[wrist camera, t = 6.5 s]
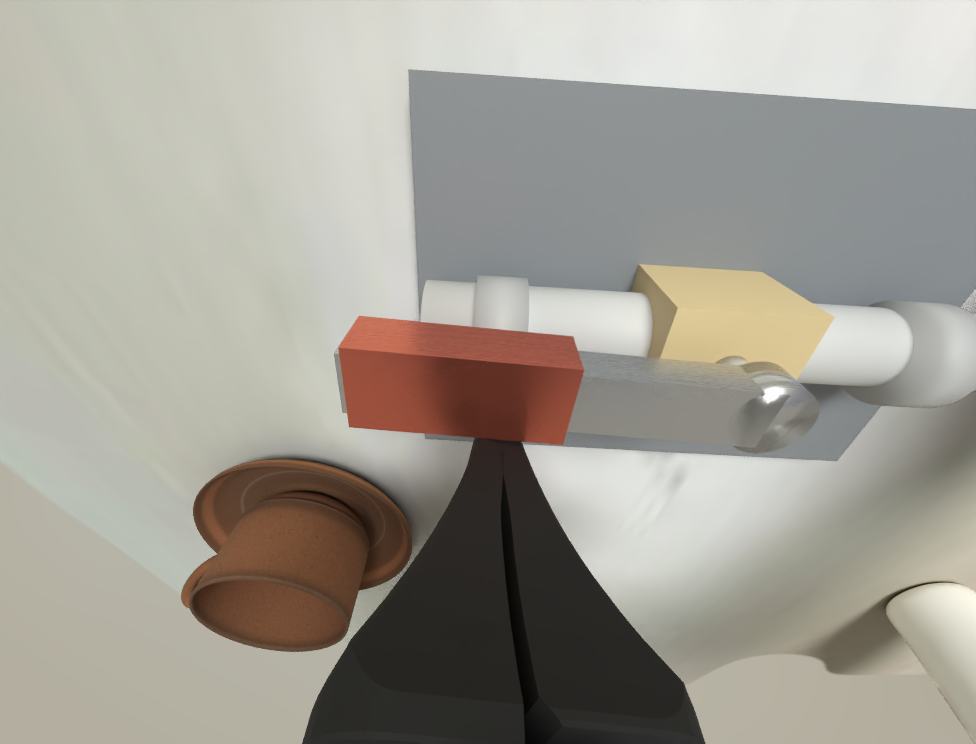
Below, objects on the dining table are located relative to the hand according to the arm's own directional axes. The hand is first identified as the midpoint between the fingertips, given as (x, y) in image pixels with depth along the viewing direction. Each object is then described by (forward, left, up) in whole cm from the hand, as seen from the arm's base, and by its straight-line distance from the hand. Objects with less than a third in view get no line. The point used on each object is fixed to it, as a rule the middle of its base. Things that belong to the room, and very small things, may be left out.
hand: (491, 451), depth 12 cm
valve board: (-7, -2, -6) cm, 10 cm away
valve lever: (-2, -2, -1) cm, 3 cm away
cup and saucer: (+10, +13, -7) cm, 17 cm away
